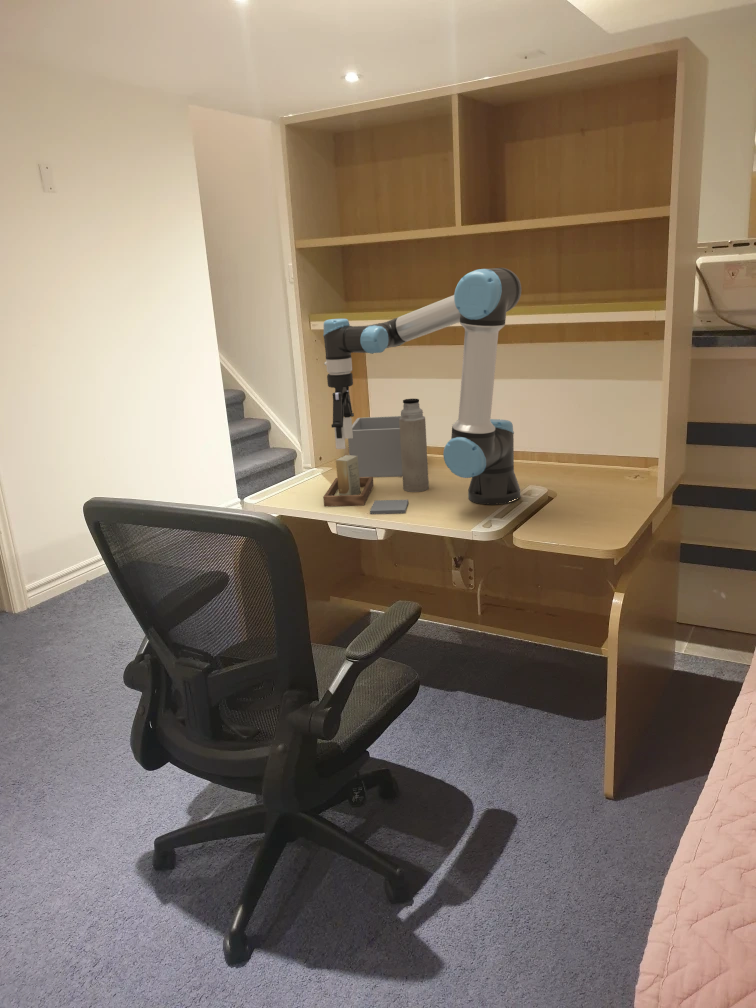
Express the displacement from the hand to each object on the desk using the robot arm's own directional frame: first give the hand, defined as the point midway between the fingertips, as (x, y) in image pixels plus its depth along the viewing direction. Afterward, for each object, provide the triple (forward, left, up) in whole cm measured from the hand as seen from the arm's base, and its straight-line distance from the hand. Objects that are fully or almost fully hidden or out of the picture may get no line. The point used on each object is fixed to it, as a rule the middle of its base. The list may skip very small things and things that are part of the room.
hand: (344, 443), depth 235 cm
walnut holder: (0, 0, -17) cm, 17 cm away
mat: (-14, +14, -17) cm, 26 cm away
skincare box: (0, 0, -17) cm, 17 cm away
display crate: (-8, -32, -17) cm, 37 cm away
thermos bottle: (-20, -6, -17) cm, 27 cm away
